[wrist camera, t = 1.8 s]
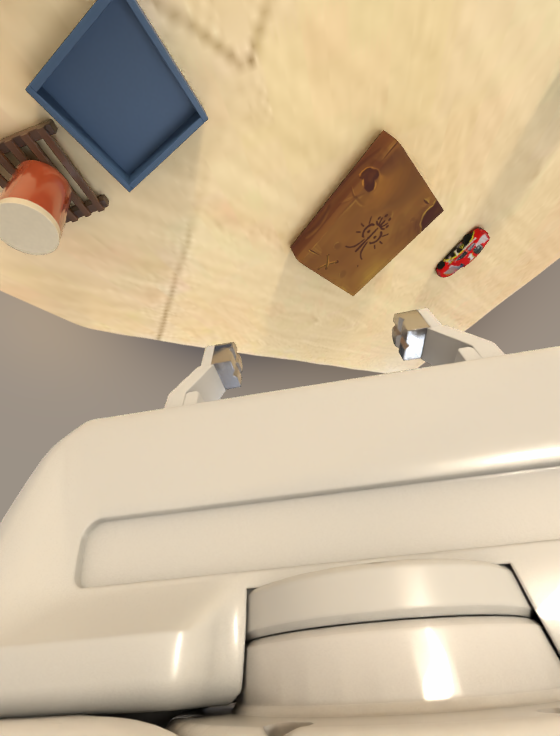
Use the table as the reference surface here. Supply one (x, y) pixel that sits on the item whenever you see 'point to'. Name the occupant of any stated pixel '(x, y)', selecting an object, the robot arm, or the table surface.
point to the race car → (463, 252)
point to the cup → (34, 208)
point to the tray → (119, 91)
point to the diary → (368, 218)
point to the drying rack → (45, 132)
